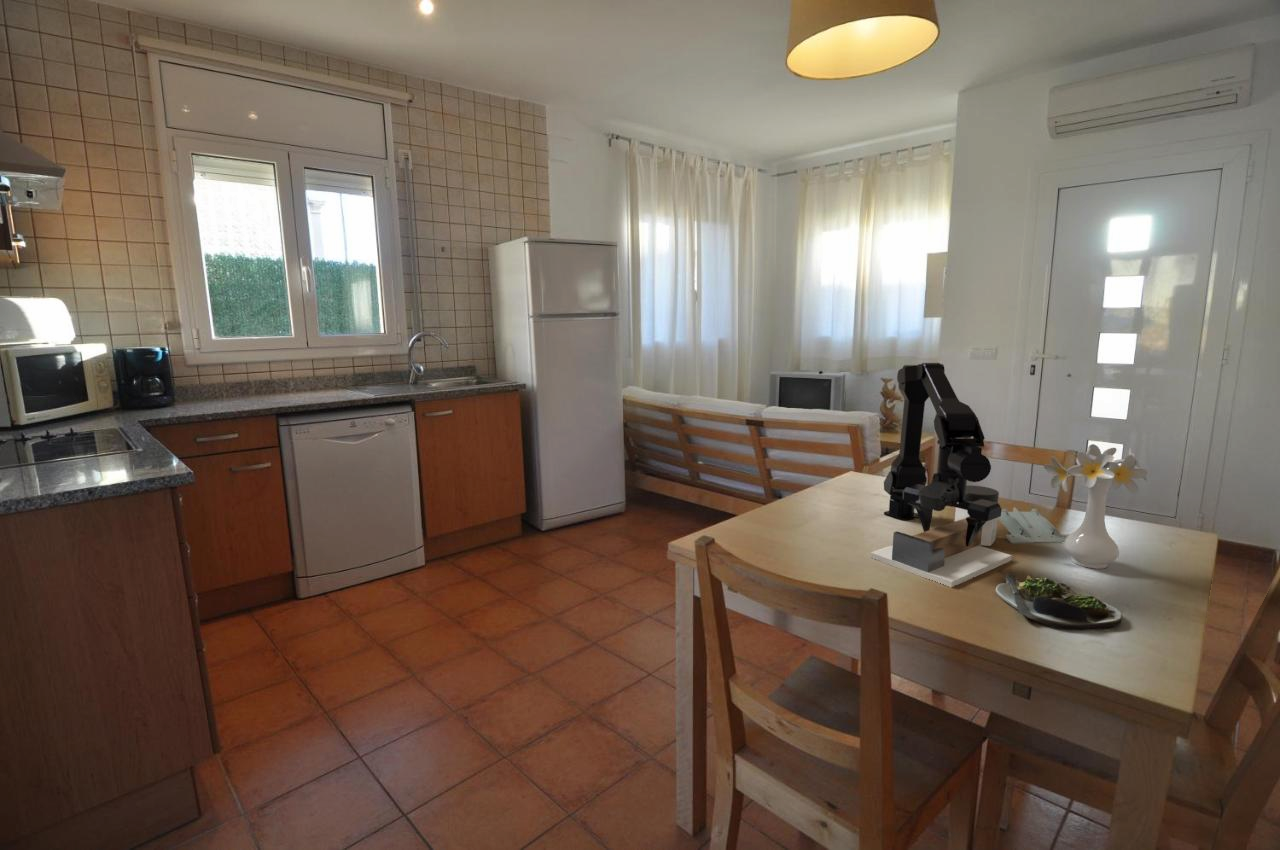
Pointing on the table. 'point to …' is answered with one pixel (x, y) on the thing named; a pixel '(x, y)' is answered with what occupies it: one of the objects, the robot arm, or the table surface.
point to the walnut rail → (950, 537)
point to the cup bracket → (916, 552)
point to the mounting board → (952, 564)
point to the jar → (989, 526)
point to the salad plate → (1058, 604)
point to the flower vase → (1096, 501)
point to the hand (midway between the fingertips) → (946, 539)
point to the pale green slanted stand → (1029, 527)
